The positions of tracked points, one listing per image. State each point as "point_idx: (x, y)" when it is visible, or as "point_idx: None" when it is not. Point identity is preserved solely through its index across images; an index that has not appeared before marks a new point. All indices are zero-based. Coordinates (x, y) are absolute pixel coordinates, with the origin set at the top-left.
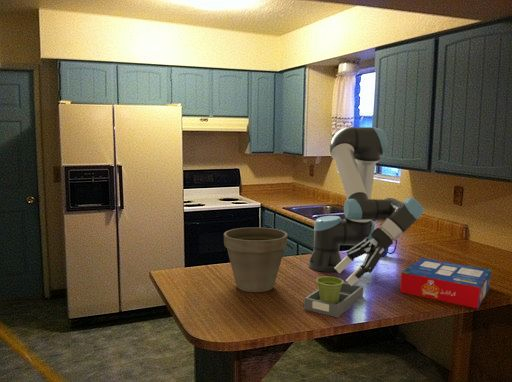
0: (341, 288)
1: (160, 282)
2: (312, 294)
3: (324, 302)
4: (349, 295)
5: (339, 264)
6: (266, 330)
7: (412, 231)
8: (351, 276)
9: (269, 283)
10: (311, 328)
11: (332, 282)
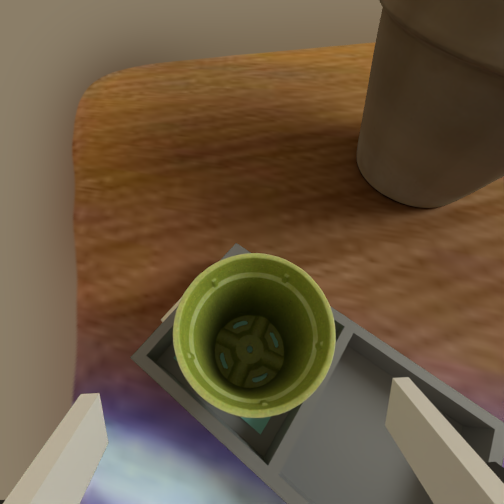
0: None
1: None
2: None
3: None
4: (268, 467)
5: (427, 425)
6: (108, 159)
7: None
8: (45, 449)
9: (383, 174)
10: (83, 254)
11: (309, 361)
